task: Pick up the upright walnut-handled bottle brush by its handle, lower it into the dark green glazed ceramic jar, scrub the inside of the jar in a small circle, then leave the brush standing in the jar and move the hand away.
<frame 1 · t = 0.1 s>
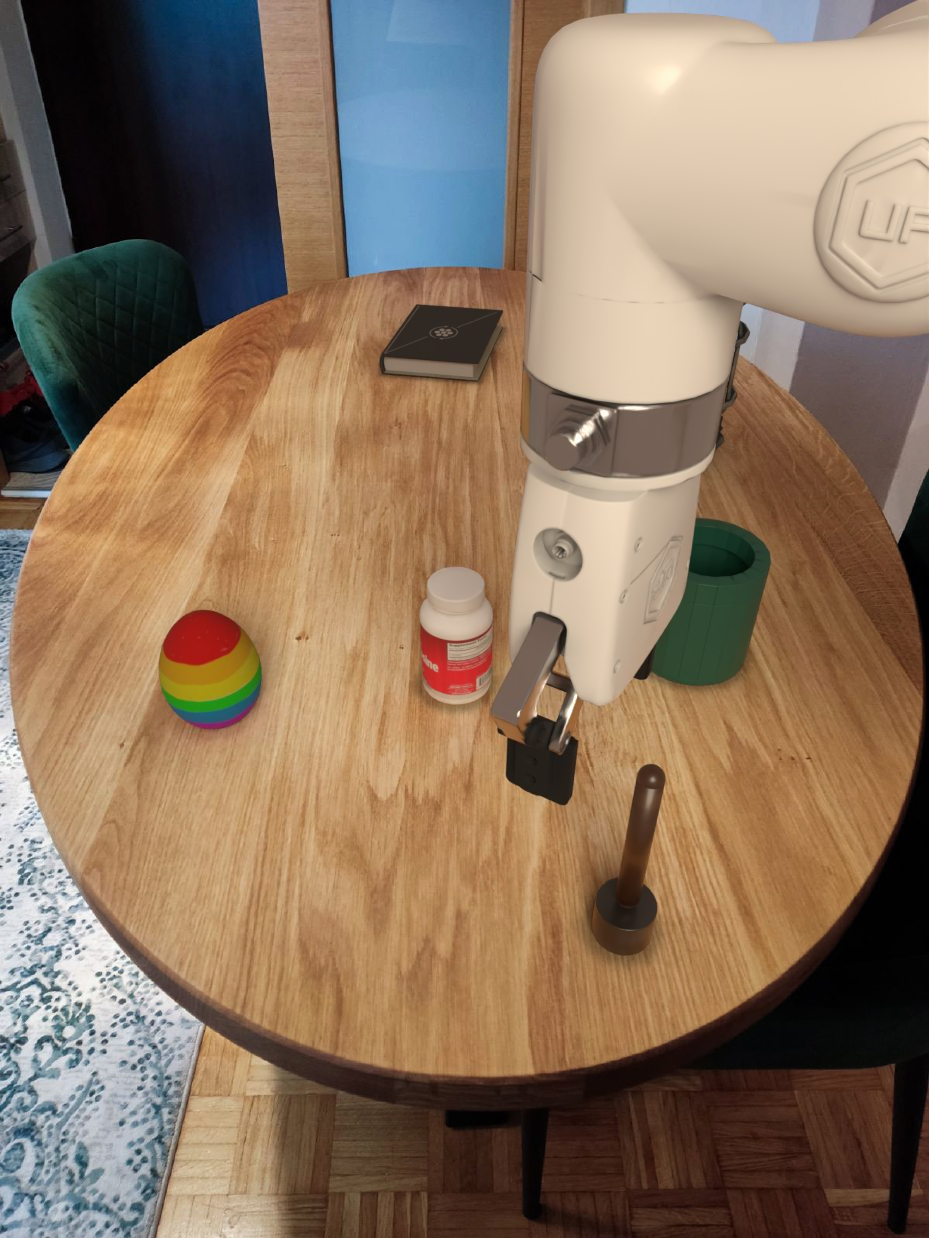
hand: (582, 724, 44), 21 cm above the table, tool pointing down, fingers open, 9 cm apart
brush: (621, 928, 59), on the table
jar: (688, 648, 81), on the table
pill bottle: (456, 684, 78), on the table
book: (444, 351, 137), on the table
decorative egg: (220, 708, 76), on the table
lantern: (671, 451, 112), on the table
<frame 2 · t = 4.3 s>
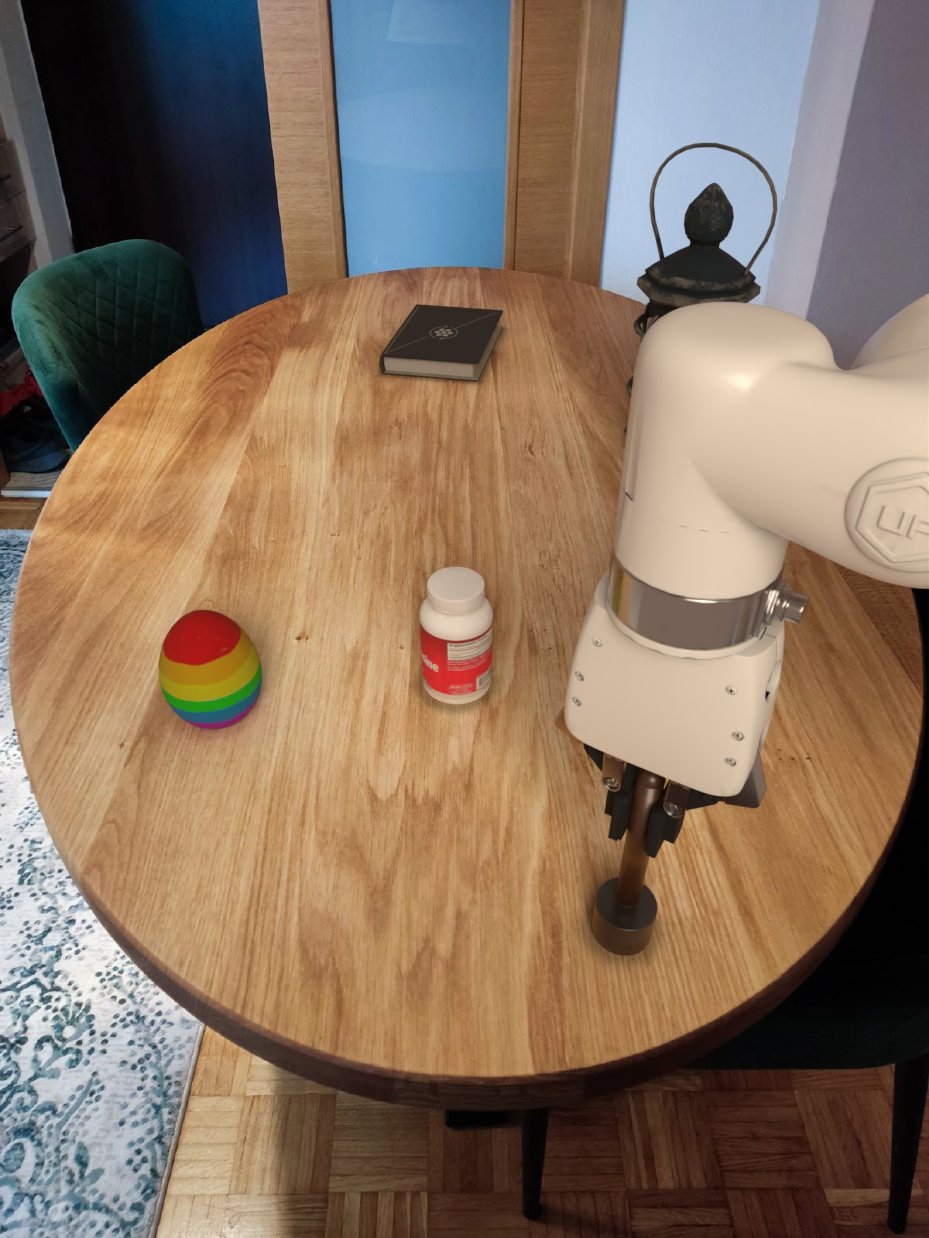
hand: (640, 830, 52), 11 cm above the table, tool pointing down, fingers closed on brush
brush: (621, 928, 59), on the table, touching gripper
everything else where it was.
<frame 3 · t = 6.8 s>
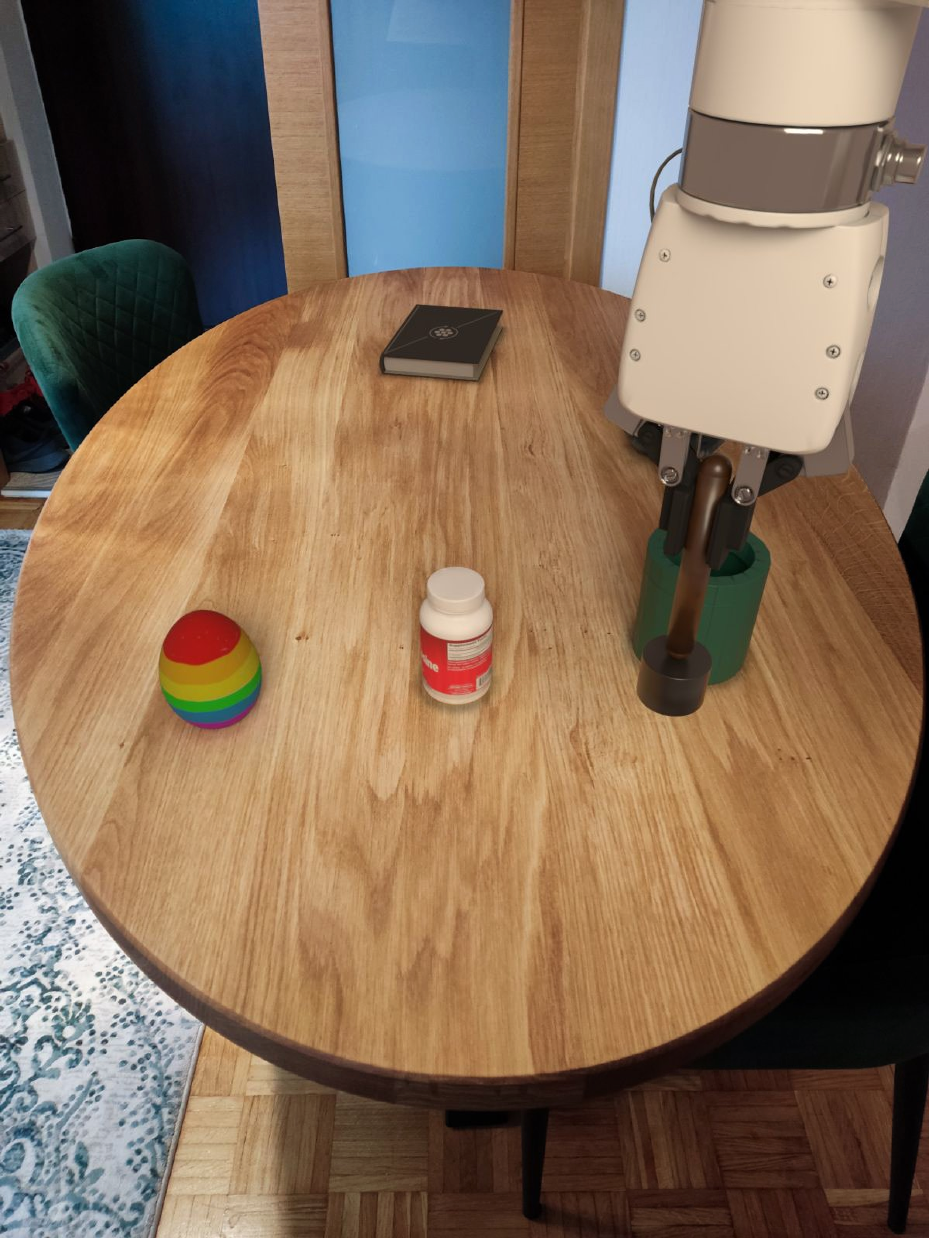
hand: (699, 547, 46), 27 cm above the table, tool pointing down, fingers closed on brush
brush: (669, 693, 53), point 17 cm above the table, touching gripper
everything else where it was.
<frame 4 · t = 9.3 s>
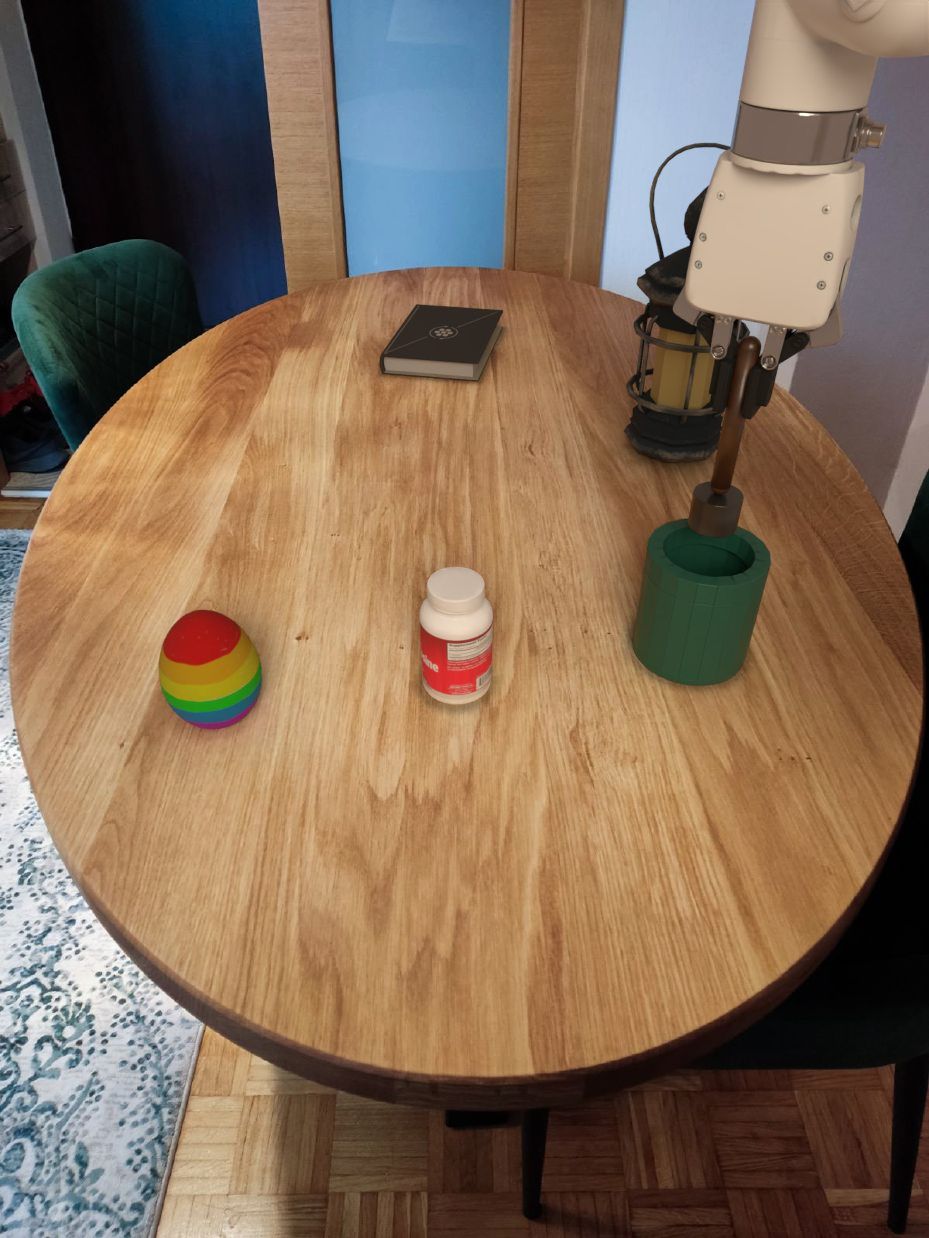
hand: (737, 407, 66), 24 cm above the table, tool pointing down, fingers closed on brush
brush: (712, 524, 73), point 13 cm above the table, touching gripper
everything else where it was.
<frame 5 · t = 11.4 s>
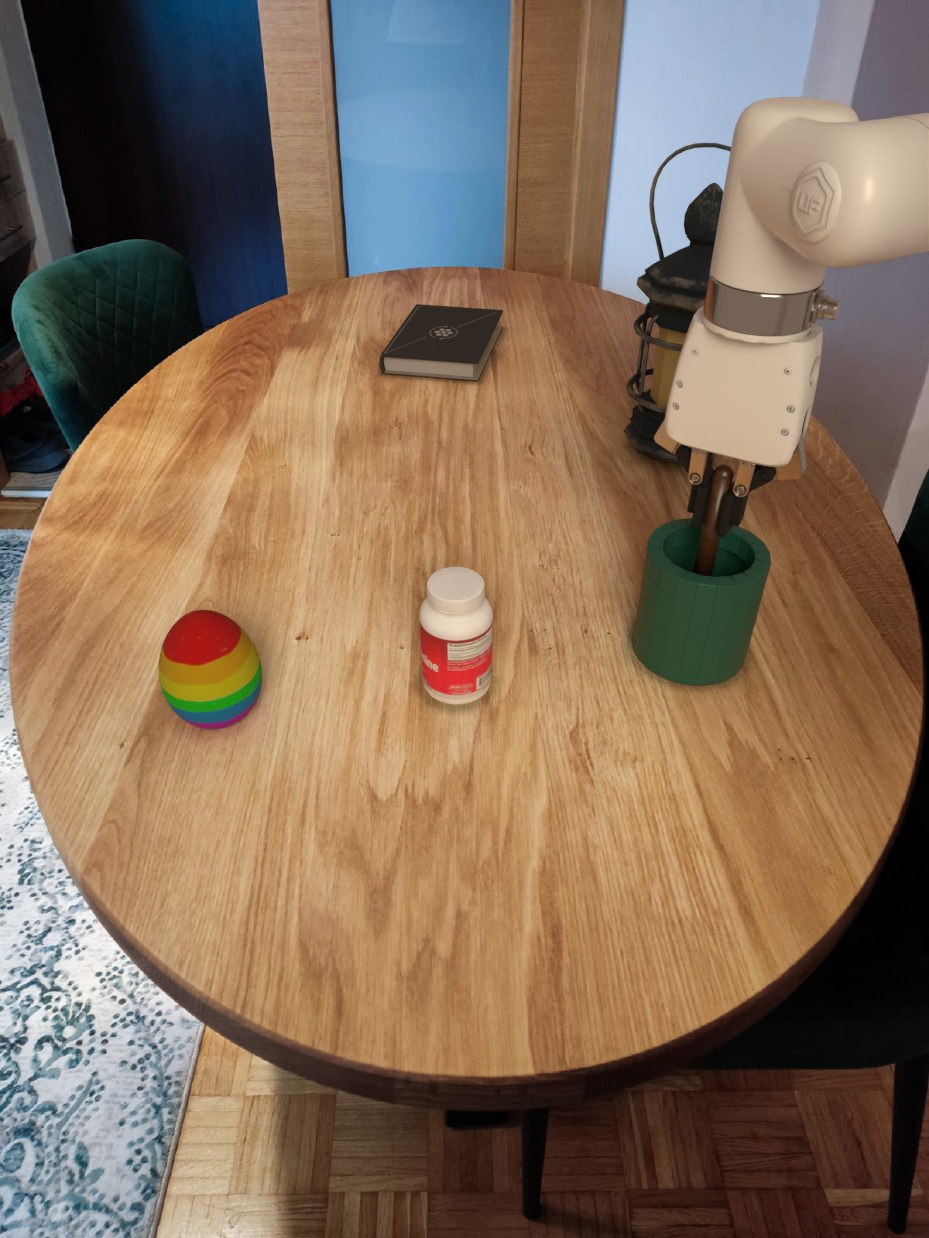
hand: (713, 523, 73), 14 cm above the table, tool pointing down, fingers closed on brush
brush: (692, 621, 80), point 3 cm above the table, touching gripper
everything else where it was.
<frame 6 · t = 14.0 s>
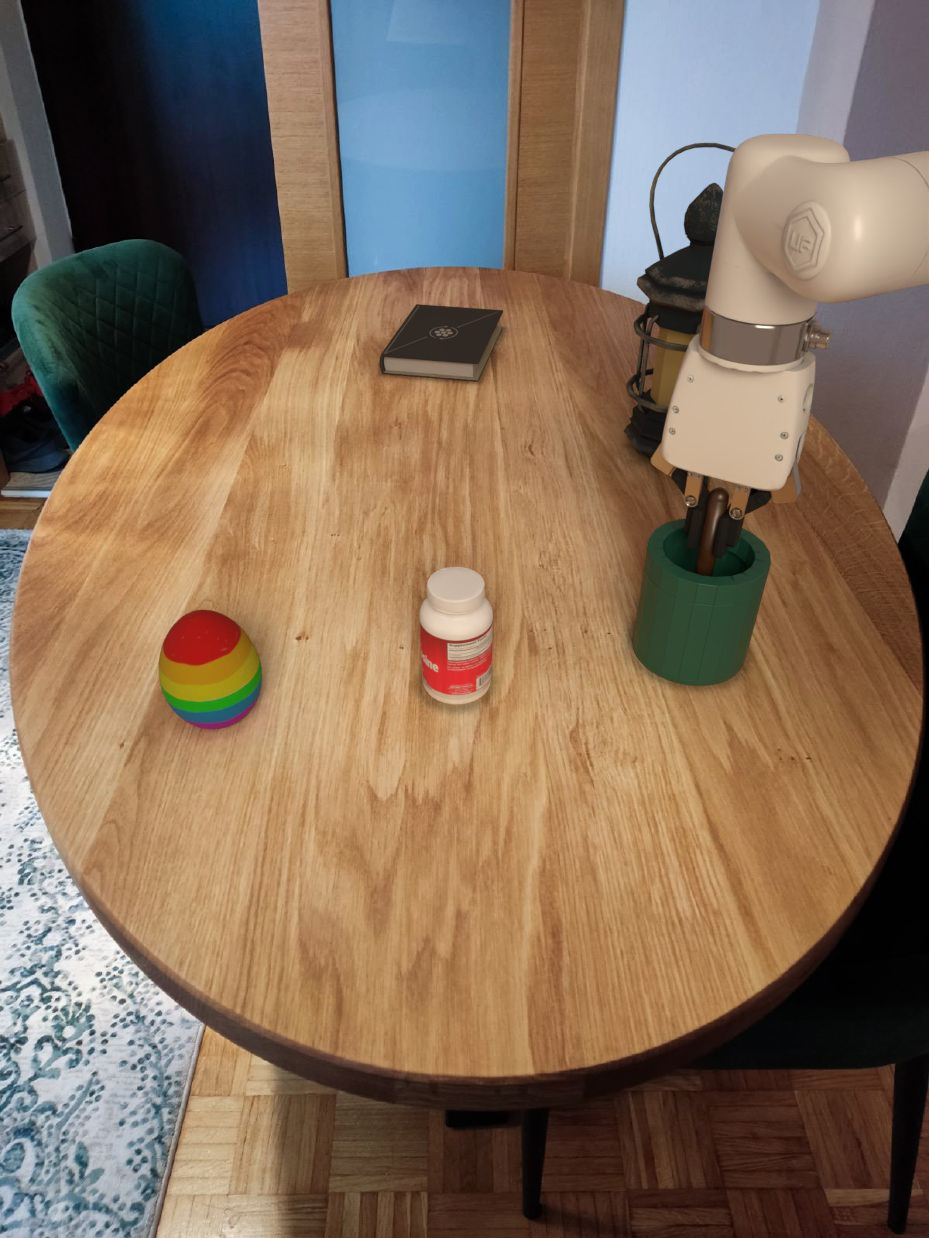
hand: (709, 544, 74), 11 cm above the table, tool pointing down, fingers closed on brush
brush: (689, 639, 81), point 1 cm above the table, touching gripper
everything else where it was.
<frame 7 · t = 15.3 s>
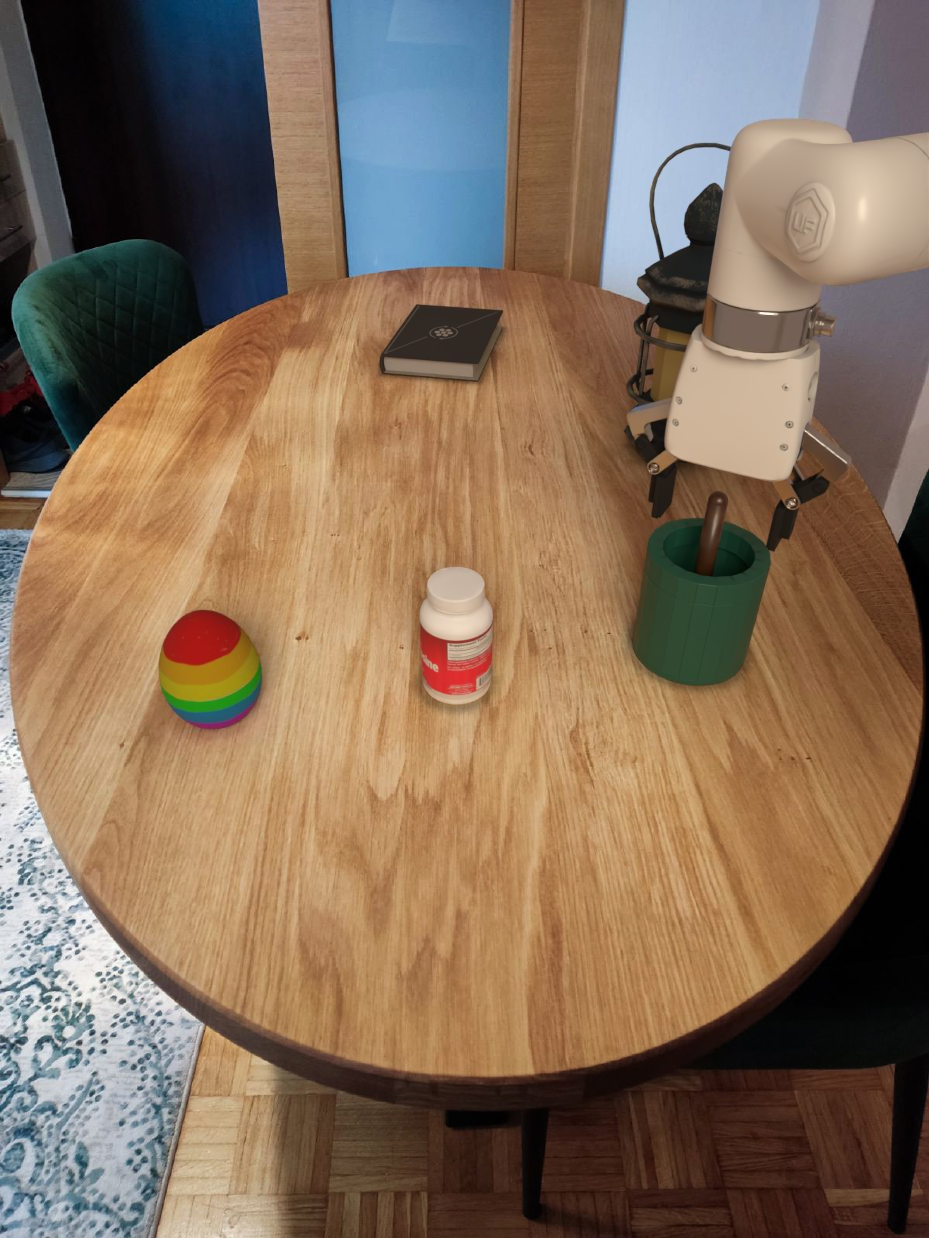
hand: (716, 526, 73), 14 cm above the table, tool pointing down, fingers open, 9 cm apart
brush: (688, 642, 81), point 1 cm above the table, touching jar
everything else where it was.
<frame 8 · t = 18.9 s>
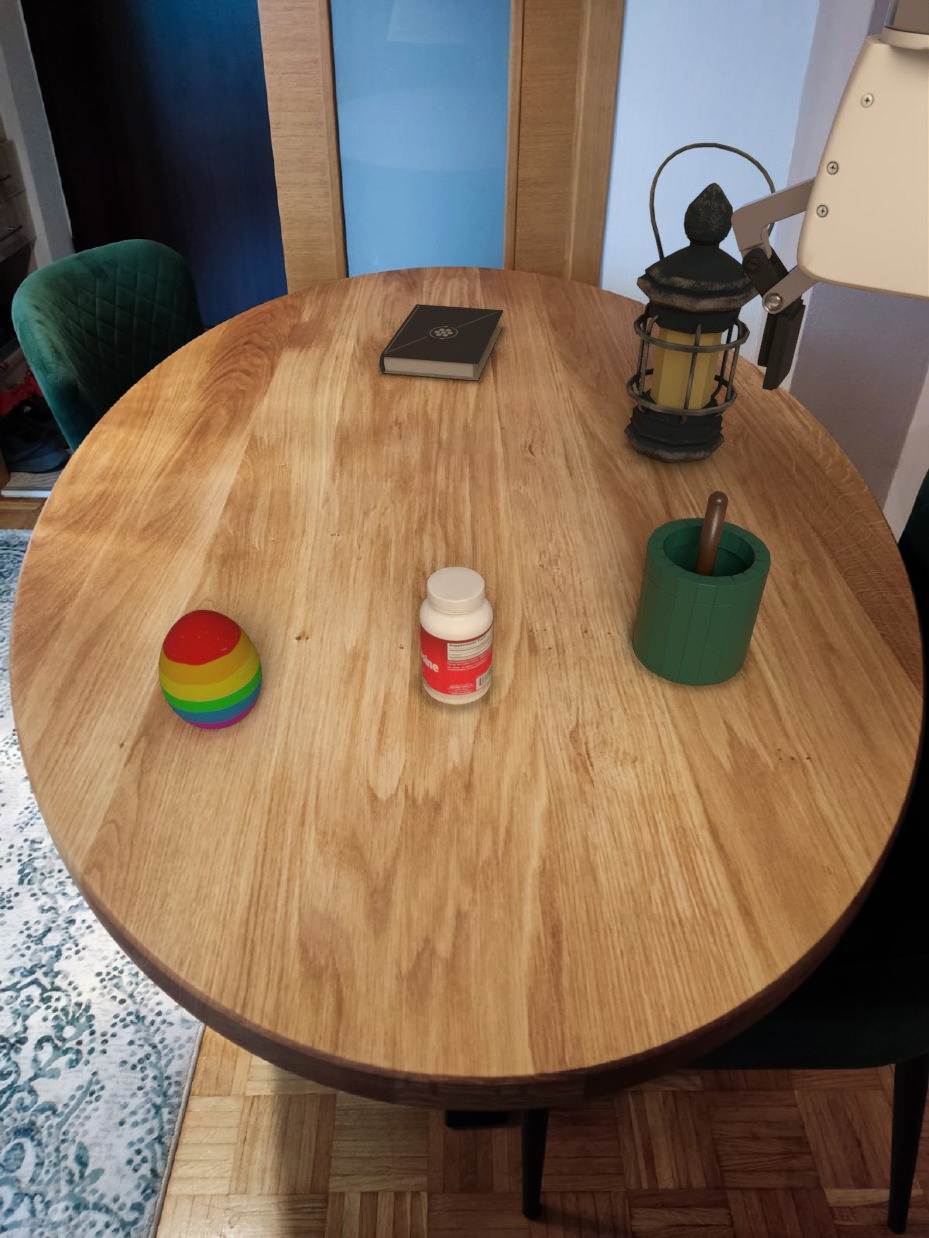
hand: (867, 401, 46), 33 cm above the table, tool pointing down, fingers open, 9 cm apart
nothing on the table moved.
at the end: brush 0.1 cm off-centre in the jar, point 0.6 cm above the jar's base; the gripper is holding nothing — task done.
